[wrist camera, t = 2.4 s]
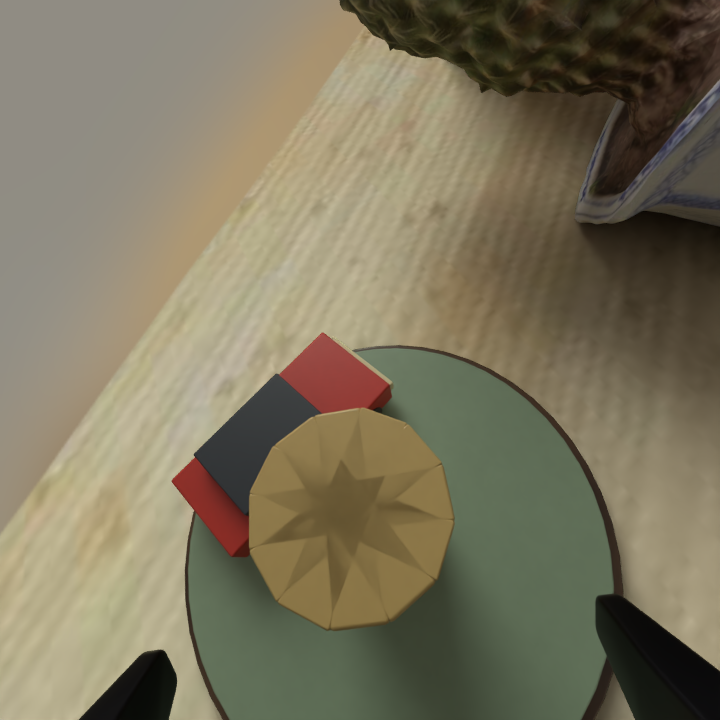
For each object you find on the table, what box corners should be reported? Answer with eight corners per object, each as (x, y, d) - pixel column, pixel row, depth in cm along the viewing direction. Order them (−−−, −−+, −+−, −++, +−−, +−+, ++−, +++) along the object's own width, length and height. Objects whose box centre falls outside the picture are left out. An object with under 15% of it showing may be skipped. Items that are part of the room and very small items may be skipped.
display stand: (577, 962, 12) (587, 988, 11) (115, 670, 17) (102, 675, 16) (636, 408, 19) (645, 402, 18) (293, 318, 24) (289, 310, 23)
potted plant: (1465, -389, 11) (442, -631, 13) (2147, -14, 5) (133, -546, 7) (782, 142, 28) (380, 3, 29) (770, 370, 22) (272, 180, 24)
